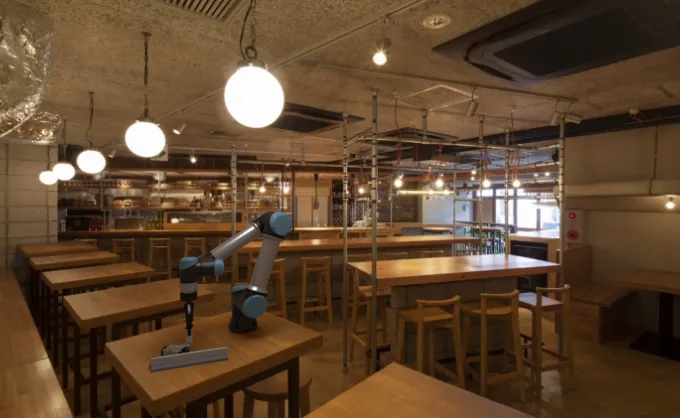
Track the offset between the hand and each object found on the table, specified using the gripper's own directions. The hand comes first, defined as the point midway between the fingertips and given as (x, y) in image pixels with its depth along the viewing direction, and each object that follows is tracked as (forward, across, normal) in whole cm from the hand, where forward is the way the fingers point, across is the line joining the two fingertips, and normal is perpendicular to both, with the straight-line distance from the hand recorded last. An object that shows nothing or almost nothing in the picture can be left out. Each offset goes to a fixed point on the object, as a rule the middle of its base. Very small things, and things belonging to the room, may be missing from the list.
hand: (189, 341), depth 176 cm
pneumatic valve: (+1, +2, -1) cm, 2 cm away
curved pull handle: (+4, +14, 0) cm, 15 cm away
